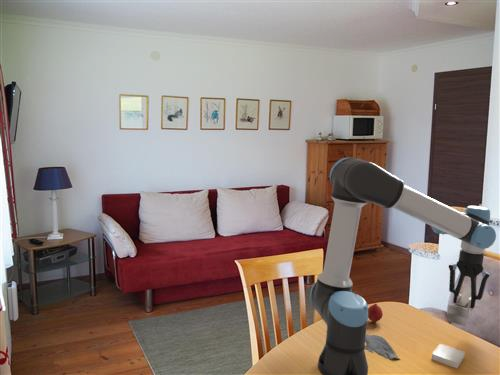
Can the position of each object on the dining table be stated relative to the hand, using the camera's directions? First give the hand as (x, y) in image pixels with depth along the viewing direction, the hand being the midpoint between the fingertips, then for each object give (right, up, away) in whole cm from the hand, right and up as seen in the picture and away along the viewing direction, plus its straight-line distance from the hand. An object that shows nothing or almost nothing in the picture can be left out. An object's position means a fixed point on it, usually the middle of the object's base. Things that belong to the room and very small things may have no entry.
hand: (462, 314), depth 159 cm
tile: (-7, -11, -7) cm, 14 cm away
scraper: (0, 0, 0) cm, 0 cm away
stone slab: (-32, -11, -4) cm, 34 cm away
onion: (-28, -7, +13) cm, 32 cm away
